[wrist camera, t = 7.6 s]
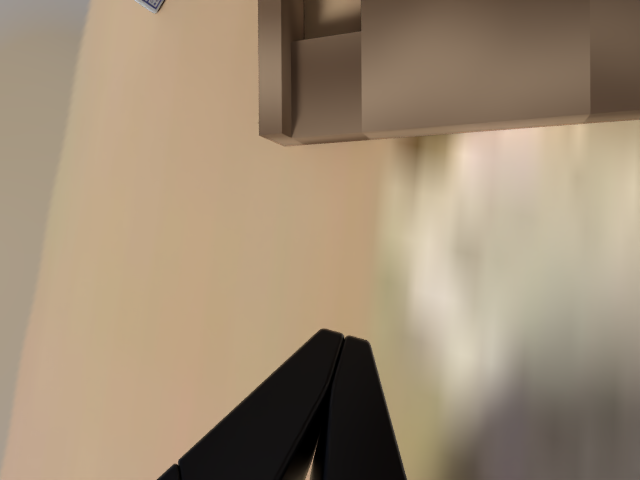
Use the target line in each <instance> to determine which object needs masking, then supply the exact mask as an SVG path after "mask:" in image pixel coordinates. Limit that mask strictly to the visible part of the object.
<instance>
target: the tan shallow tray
mask: <svg viewBox="0 0 640 480" xmlns="http://www.w3.org/2000/svg"><path fill="white" fill-rule="evenodd" d="M258 54H259V135H260V136H262V137H264V138H266V139H269V140H271V141H273V142H275V143H278V144H280V145H282V146H295V145H308V144H321V143H334V142H347V141H361V140H374V139H387V138H400V137H413V136H427V135H440V134H453V133H466V132H479V131H493V130H506V129H519V128H532V127H545V126H559V125H572V124H585V123H598V122H611V121H625V120H638V119H640V0H361V31H358V32H352V33H345V34H339V35H332V36H326V37H319V38H312V39H306V40H304V0H258Z"/></svg>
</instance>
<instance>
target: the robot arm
mask: <svg viewBox="0 0 640 480" xmlns="http://www.w3.org/2000/svg"><path fill="white" fill-rule="evenodd" d="M316 445H317V446H316ZM315 449H316V451H315ZM314 452H315V455H314ZM313 456H314V459H313ZM312 459H313V464H312V469H311V475H310V480H407V478H406V474H405V470H404V467H403V463H402V459H401V456H400V452H399V448H398V445H397V441H396V437H395V433H394V430H393V426H392V422H391V419H390V415H389V411H388V408H387V404H386V400H385V396H384V393H383V389H382V385H381V382H380V378H379V374H378V370H377V367H376V363H375V359H374V356H373V352H372V348H371V345H370V343H369V342H368V341H367V340H364V339H360V338H357V337H353V336H349V335H348V336H346V337H345V339H344V335H343V334H342V333H339V332H335V331H332V330H328V329H320V330H319V331H318V332H317V333H316V334H315V335H313V336H312V337H311V338H310V339H309V340H308V341H307V342H306V343H305V344H304V345H303V346H302V347H300V348H299V349H298V350H297V351H296V352H295V353H294V354H293V355H292V356H291V357H290V358H289V359H287V360H286V361H285V362H284V363H283V364H282V365H281V366H280V367H279V368H278V369H277V370H276V371H274V372H273V373H272V374H271V375H270V376H269V377H268V378H267V379H266V380H265V381H264V382H262V383H261V384H260V385H259V386H258V387H257V388H256V389H255V390H254V391H253V392H252V393H251V394H249V395H248V396H247V397H246V398H245V399H244V400H243V401H242V402H241V403H240V404H239V405H238V406H236V407H235V408H234V409H233V410H232V411H231V412H230V413H229V414H228V415H227V416H226V417H225V418H223V419H222V420H221V421H220V422H219V423H218V424H217V425H216V426H215V427H214V428H213V429H212V430H210V431H209V432H208V433H207V434H206V435H205V436H204V437H203V438H202V439H201V440H200V441H199V442H197V443H196V444H195V445H194V446H193V447H192V448H191V449H190V450H189V451H188V452H187V453H186V454H184V455H183V456H182V457H181V458H180V459H179V461H178V465H177V464H173V465H172V466H171V467H170V468H169V469H168V470H167V471H166V472H165V473H164V474H162V475H161V476H160V477H159V478H158V479H157V480H305V478H306V476H307V473H308V470H309V468H310V465H311V462H312Z"/></svg>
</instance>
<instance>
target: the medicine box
mask: <svg viewBox="0 0 640 480" xmlns="http://www.w3.org/2000/svg"><path fill="white" fill-rule="evenodd" d="M135 1H136V2H138V3H139V4H141V5H142V6H144V7H145V8H146V9H148V10H149V11H151V12H152V13H157V11H158V10H159V8H160V6H161V4H162V3H163V1H164V0H135Z"/></svg>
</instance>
